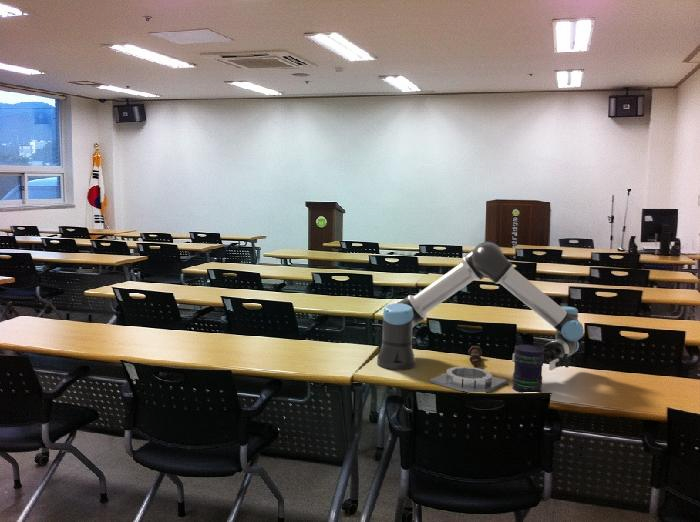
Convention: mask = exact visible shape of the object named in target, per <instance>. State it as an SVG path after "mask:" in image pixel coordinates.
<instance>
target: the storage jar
mask: <svg viewBox="0 0 700 522" xmlns="http://www.w3.org/2000/svg"><path fill="white" fill-rule="evenodd" d="M514 349H515V354H514V353H513V354H514V362H513V363H514V368H513V369H514V370H513V373H512V390H513V391H515V392H518V393H520V392H540V393H541V392H542V389H541V388H542V385H543V376H542V372H543V366H544V360H545V359H544V353H543V352H544V349H543V347H541V346H538V345H533V344H517V345H515V346H514Z"/></svg>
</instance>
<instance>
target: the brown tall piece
mask: <svg viewBox="0 0 700 522" xmlns="http://www.w3.org/2000/svg"><path fill="white" fill-rule="evenodd" d="M467 353H468V355H469V356H470V357H469V358H468V360H469V361H470V363H471V365H472V367H478V366H479V365H481V362H482V361H483V359H482V357H481V356H482V354H483V352H482V349H481V348H480V346H477V345H471V347H470V348H469V349H468V351H467Z"/></svg>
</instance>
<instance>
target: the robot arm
mask: <svg viewBox="0 0 700 522" xmlns="http://www.w3.org/2000/svg"><path fill="white" fill-rule="evenodd" d="M484 278H487V279H489V280H490V281H492V282H493V283H494V284H500V285H501V286H503V288H505V289H506V290H507V291H508V292H510V294H512V295H513V296H514V297H516V298H517V299H518V300H520V301H521V302H522V303H523V304H525V305H526V307H529V309H531V310H532V311H533V312H534V313H536V315H538V316H539V317H540V318H542V319H543V320H544V321H545V322H546V323H548V324H549V325H550V326H551V327H553V328H554V329H555V330H556V331H555V340H552V341H550V342H547V343H545V344H544V345H543V346H542V348H543V349H544V352H543V353H544V360H545V361H546V362H548V363H549V367H548V369H549V371H553V370H555V369H557V368H560V367H565V368H569V366H570V359H569V357H570V356H573V355H574V354H575V353H576V352H577V351H578V350H579V346H580V343H579V340H581V339H582V338H583V335H584V334H585V333H584V332H585V331H584V326H583V323H581V322H580V321H579V318H578V317H579V310H578V308H576V307H573V306H561V305H559V304H558V303H557V302H556V301H554V300H553V299H552V298H551V297H550V296H549V295H547V294H546V293H544V292H543V291H542V290H541V289H539V288H538V286H536V285H534V284H533V283H532V282H531V281H530V280H529V279H528V278H526V277H524V275H522V274H521V273H520V272H519V271H517V270H516V269H515V268H514V264H513V263H512V262H511V261H510V260H509V259H508V258H506V256H504V253H503V251H502V249H501V247H500V246H499V245H498V244H496V243H495V242H491V241H484V242H481V243H479V244H477V245H476V246H475V248H473V249H472V250H471V251H469V252H468V253H466V254H464V256H463V257H462V260H461V262H460V263H459V264H457V265H456V266H455V267H453V268H451V269H450V270H448V271H447V272H446V273H445V274H444V275H442V276H440V277H439V278H437V279H436V280H435V281H433V282H432V283H431V284H429V285H428V286H427V287H425V288H423V289H422V290H421V291H419V292H418V293H416V294H415V295H412V294H411V295H410V294H409V295H408V296H405V297H404V298H403V299H401V300H400V301H398V302H397V303H391V304H388V305H386V306H385V307H384V308H383V311H382V342H381V343H382V344H381V347H380V350H379V353H378V355H377V358H376V364H377V365H378V366H379V367H381V366H382V367H381V368H384V367H386V368H385V369H388V368H390V369H389V370H397V369H402V370H409V369H413V368H414V367H416V358H415V353H414V350H413V342H412V340H413V328H414V327H415V326H416V325H418V324H420V323H421V322H422V321H424V320H425V319H426V318H427V314H428V312H430V311H431V310H433V309H434V308H436V307H437V306H439V305H441V304H442V303H443V302H444V301H446V300H447V299H449V298H450V297H452V296H453V295H455V294H456V293H457V292H459V291H460V290H462V289H463V288H465V287H466V286H467V285H469V284H471V283H472V282H473V281H477V280H478V281H481V280H483V279H484ZM514 354H515V348H514V351H513V353H512V359H511V360H512V361H511V362H513V363H515V362H514Z"/></svg>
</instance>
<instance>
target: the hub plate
mask: <svg viewBox="0 0 700 522" xmlns="http://www.w3.org/2000/svg"><path fill="white" fill-rule="evenodd" d="M429 383H430V384H434V385H436V386H441V387H445V388H448V389H452V390H456V391H459V392H462V391H465V392H488V393H490V392H492V391H494V390H496V389H498V388H501V387H502V386H504V385H506V384H507V383H508V380H507V379H503V378H499V377H496V376H493V374H492V372H490V371H487V370H486V369H482V368H479V367H475V366H452V367H450V368H447V369H446V372H445V373H442V374H440V375H437V376H435V377H432V378H429ZM465 392H464V393H465Z"/></svg>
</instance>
